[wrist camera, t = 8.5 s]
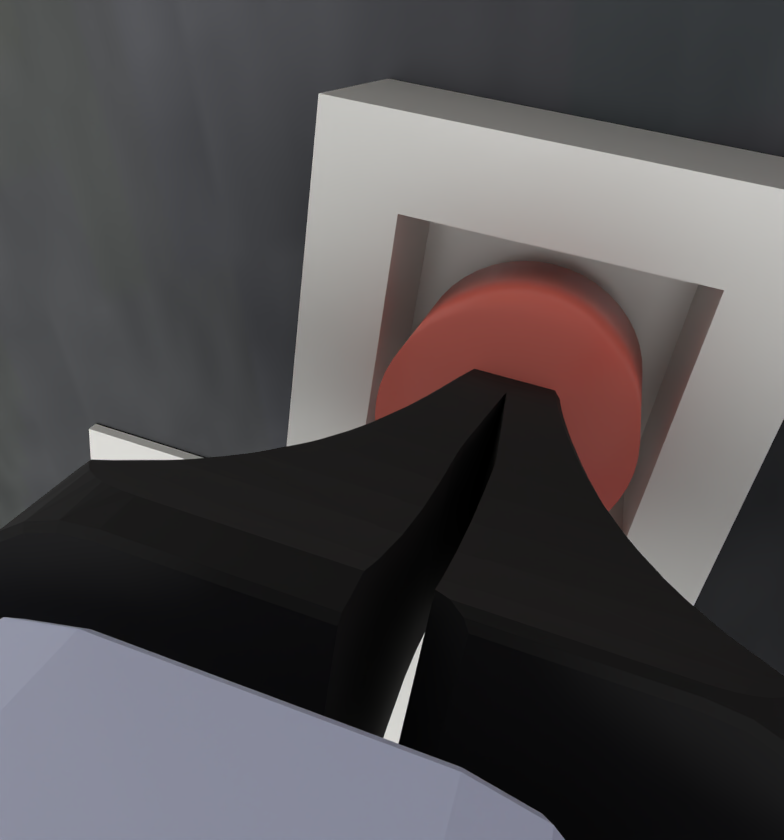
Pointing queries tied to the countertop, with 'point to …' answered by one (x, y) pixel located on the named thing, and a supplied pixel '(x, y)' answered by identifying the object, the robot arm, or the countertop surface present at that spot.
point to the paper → (134, 448)
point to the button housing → (567, 247)
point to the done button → (536, 357)
